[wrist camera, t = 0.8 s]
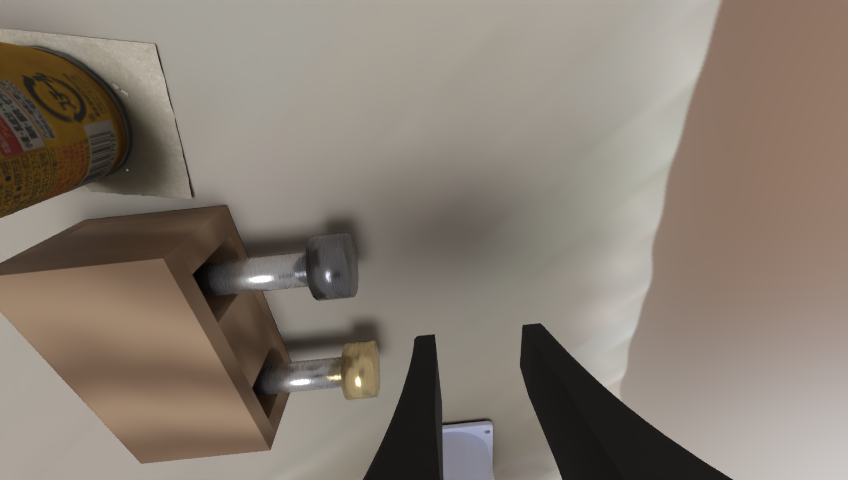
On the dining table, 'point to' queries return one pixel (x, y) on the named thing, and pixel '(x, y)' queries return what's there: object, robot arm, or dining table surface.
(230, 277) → the black knob
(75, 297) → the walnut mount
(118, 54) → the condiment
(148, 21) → the dining table surface
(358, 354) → the brass knob
